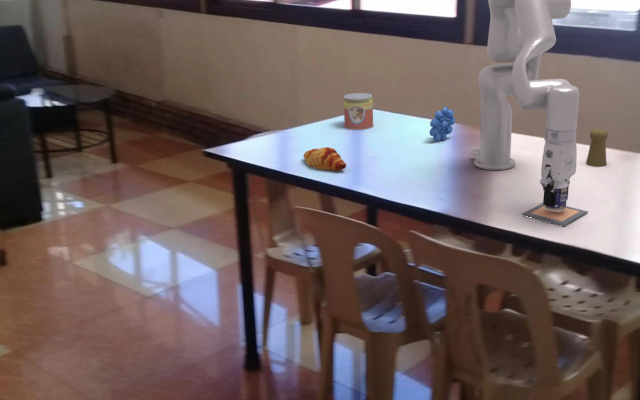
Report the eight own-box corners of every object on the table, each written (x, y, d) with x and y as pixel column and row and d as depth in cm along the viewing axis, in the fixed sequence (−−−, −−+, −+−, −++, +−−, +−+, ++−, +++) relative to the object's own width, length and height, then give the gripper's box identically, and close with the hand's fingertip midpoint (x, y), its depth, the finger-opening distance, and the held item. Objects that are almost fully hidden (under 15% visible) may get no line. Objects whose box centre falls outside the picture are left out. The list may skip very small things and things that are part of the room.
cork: (607, 166, 228) (611, 132, 224) (587, 166, 229) (590, 132, 226) (604, 161, 234) (608, 127, 230) (584, 160, 235) (587, 127, 231)
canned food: (342, 130, 284) (341, 99, 279) (346, 122, 294) (345, 93, 290) (371, 130, 282) (371, 99, 278) (374, 122, 292) (374, 92, 288)
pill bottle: (562, 213, 189) (565, 177, 186) (541, 210, 192) (544, 174, 188) (568, 206, 193) (571, 171, 190) (547, 203, 196) (550, 168, 193)
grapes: (445, 135, 270) (446, 103, 266) (459, 138, 265) (459, 106, 261) (421, 141, 264) (422, 108, 260) (434, 145, 259) (435, 111, 255)
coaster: (522, 215, 193) (522, 213, 193) (545, 203, 201) (546, 201, 201) (564, 226, 185) (564, 224, 185) (587, 213, 193) (587, 211, 193)
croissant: (298, 171, 249) (288, 153, 245) (318, 152, 253) (308, 134, 248) (339, 184, 233) (329, 165, 229) (360, 163, 237) (350, 144, 232)
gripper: (556, 144, 178) (551, 215, 184) (590, 130, 189) (584, 196, 195) (528, 139, 183) (524, 208, 189) (563, 125, 194) (558, 190, 200)
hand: (555, 201), depth 192 cm, fingers closed on pill bottle, 5 cm apart
